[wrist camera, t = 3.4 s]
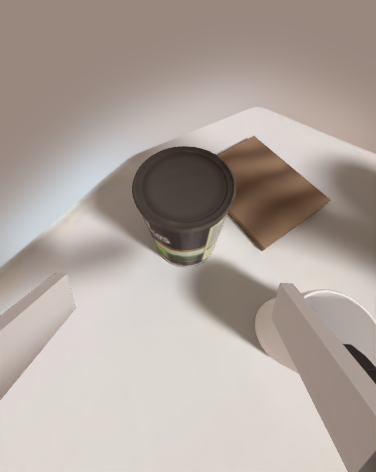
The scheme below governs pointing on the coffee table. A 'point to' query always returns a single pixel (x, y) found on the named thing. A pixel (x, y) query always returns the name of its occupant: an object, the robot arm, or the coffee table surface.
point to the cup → (333, 314)
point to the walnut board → (268, 193)
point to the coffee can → (184, 202)
